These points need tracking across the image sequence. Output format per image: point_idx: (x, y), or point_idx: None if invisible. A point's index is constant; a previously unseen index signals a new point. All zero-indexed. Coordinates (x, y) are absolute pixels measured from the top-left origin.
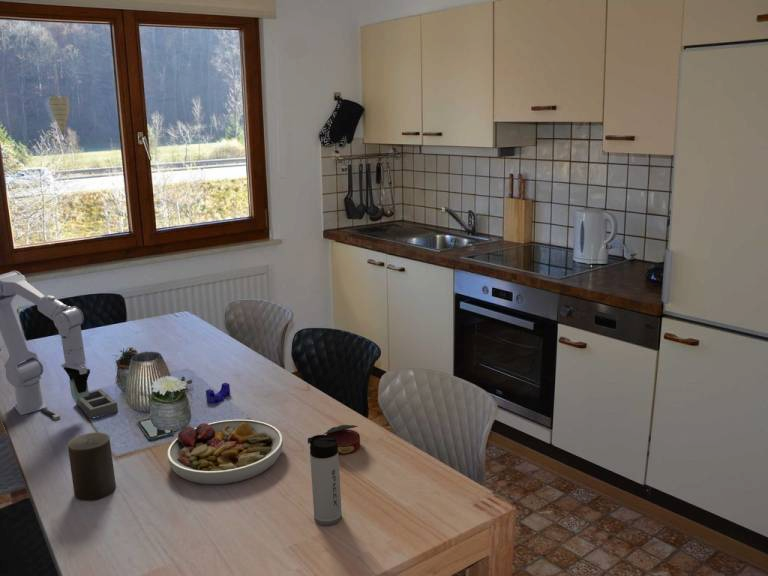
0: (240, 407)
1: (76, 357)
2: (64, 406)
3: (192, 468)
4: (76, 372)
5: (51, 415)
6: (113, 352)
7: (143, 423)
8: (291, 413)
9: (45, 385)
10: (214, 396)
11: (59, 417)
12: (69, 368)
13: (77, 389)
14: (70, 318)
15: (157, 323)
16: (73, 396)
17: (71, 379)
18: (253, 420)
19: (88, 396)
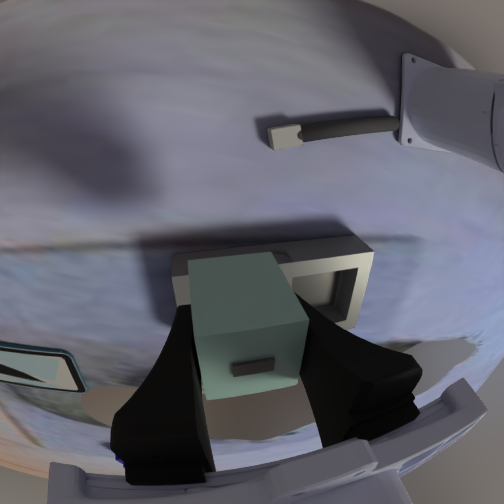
0: (85, 455)
1: None
2: (371, 194)
3: None
4: (146, 461)
5: (310, 124)
6: (486, 331)
7: (51, 360)
8: (48, 464)
9: (501, 199)
10: (119, 461)
11: (270, 146)
12: (356, 407)
13: (176, 320)
14: None
15: (485, 373)
16: (228, 259)
17: (309, 332)
18: None
19: (348, 284)
